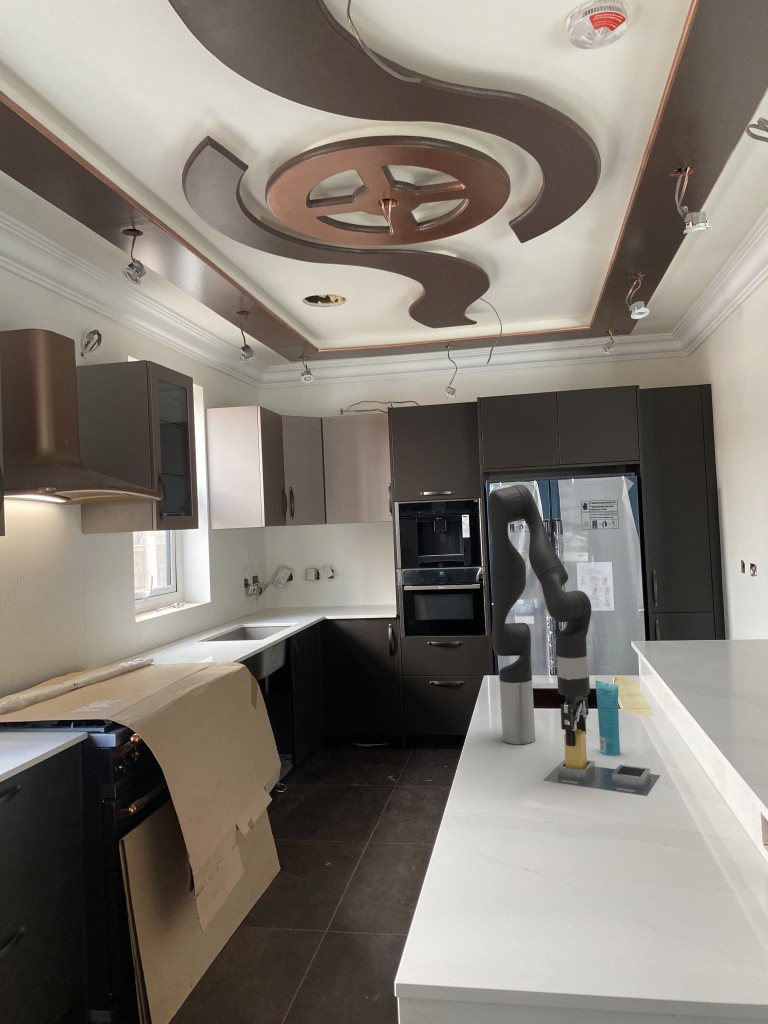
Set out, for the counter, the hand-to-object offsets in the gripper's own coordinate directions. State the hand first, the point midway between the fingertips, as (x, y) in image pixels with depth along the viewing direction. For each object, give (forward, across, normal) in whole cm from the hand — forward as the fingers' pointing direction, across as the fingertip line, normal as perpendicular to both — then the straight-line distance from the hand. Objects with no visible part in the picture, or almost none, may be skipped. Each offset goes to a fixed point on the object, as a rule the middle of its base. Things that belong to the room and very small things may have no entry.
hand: (576, 740), depth 182 cm
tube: (+10, -18, +3) cm, 21 cm away
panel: (+9, +1, +6) cm, 11 cm away
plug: (+8, +1, 0) cm, 8 cm away
